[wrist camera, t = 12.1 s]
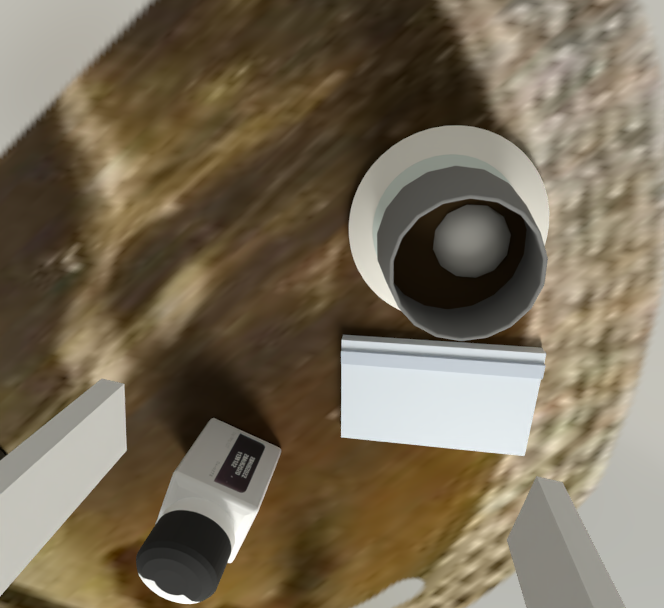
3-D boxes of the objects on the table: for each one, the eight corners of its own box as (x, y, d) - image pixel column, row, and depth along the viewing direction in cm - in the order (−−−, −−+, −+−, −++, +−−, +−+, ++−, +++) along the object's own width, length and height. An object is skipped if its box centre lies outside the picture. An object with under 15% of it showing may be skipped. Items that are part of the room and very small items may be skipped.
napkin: (342, 430, 39) (340, 439, 37) (343, 334, 35) (341, 341, 34) (521, 448, 36) (525, 458, 35) (542, 347, 33) (547, 355, 31)
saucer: (335, 294, 34) (333, 299, 33) (370, 109, 28) (369, 107, 27) (507, 331, 33) (510, 337, 32) (577, 146, 27) (584, 146, 26)
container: (212, 414, 41) (133, 529, 29) (283, 447, 41) (234, 574, 29) (192, 467, 44) (113, 590, 32) (258, 497, 44) (205, 631, 32)
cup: (509, 148, 27) (566, 151, 18) (520, 281, 30) (573, 343, 21) (367, 181, 29) (352, 198, 20) (391, 302, 32) (387, 366, 23)
